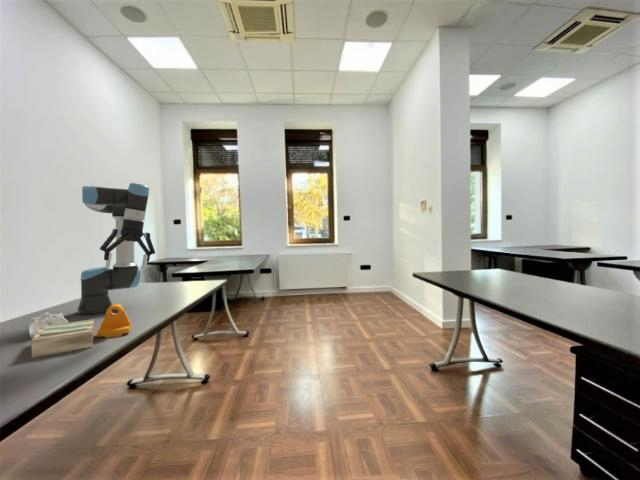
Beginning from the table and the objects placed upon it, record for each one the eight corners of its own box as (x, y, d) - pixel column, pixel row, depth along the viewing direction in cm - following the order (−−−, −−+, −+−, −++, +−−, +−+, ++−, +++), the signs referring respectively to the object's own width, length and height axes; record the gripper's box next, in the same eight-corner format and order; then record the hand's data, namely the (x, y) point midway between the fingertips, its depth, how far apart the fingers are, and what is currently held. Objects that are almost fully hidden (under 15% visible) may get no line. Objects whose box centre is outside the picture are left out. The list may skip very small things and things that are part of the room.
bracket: (96, 339, 115) (96, 309, 115) (100, 333, 121) (100, 305, 121) (129, 334, 120) (128, 306, 119) (131, 329, 126) (130, 302, 126)
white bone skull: (63, 319, 130) (66, 307, 126) (66, 336, 127) (69, 324, 122) (25, 326, 121) (26, 313, 117) (28, 344, 118) (29, 332, 113)
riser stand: (41, 341, 112) (41, 325, 112) (94, 333, 121) (94, 318, 121) (31, 358, 97) (31, 339, 97) (92, 346, 107) (91, 329, 106)
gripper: (101, 215, 112) (92, 269, 111) (167, 224, 131) (160, 270, 131) (96, 214, 116) (87, 266, 116) (160, 223, 136) (153, 268, 136)
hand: (126, 268), depth 124 cm, fingers open, 13 cm apart
